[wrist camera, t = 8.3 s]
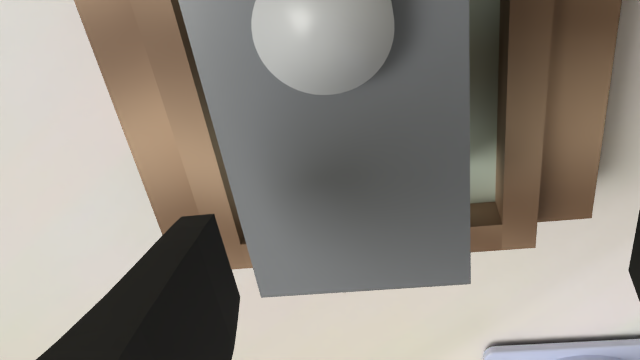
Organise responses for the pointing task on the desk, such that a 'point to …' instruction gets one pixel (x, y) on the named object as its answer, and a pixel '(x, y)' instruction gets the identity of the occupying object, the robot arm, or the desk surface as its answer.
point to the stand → (485, 113)
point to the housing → (342, 137)
